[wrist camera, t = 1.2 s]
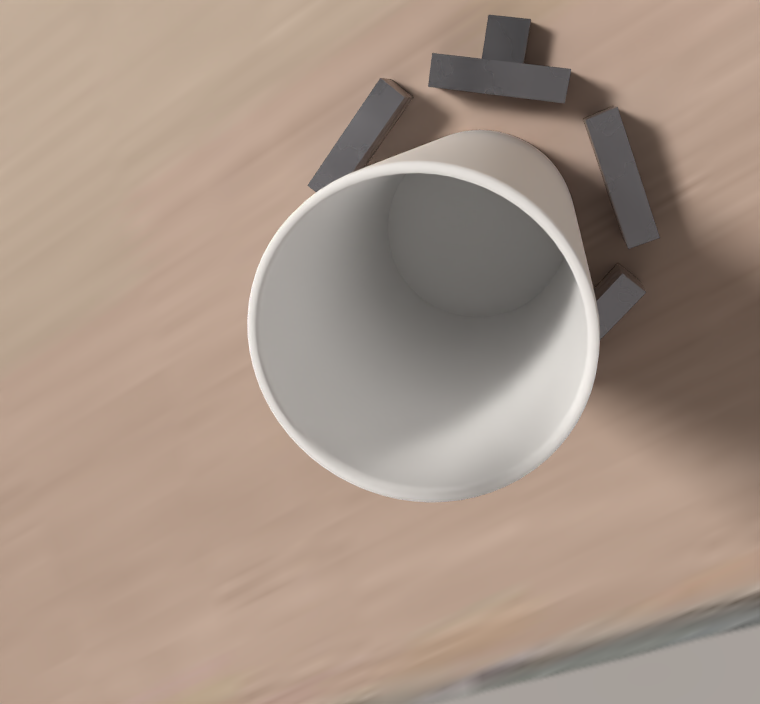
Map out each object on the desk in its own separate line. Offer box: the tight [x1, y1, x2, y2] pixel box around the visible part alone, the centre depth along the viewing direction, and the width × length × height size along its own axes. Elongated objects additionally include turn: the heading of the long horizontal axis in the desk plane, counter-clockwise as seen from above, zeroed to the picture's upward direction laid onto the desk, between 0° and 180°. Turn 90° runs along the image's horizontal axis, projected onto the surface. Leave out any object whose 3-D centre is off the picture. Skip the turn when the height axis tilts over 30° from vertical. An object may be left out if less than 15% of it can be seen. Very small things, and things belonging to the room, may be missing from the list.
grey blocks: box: [308, 15, 660, 339], centre depth 30 cm, size 17×14×2 cm
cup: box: [248, 130, 600, 502], centre depth 24 cm, size 8×8×16 cm
